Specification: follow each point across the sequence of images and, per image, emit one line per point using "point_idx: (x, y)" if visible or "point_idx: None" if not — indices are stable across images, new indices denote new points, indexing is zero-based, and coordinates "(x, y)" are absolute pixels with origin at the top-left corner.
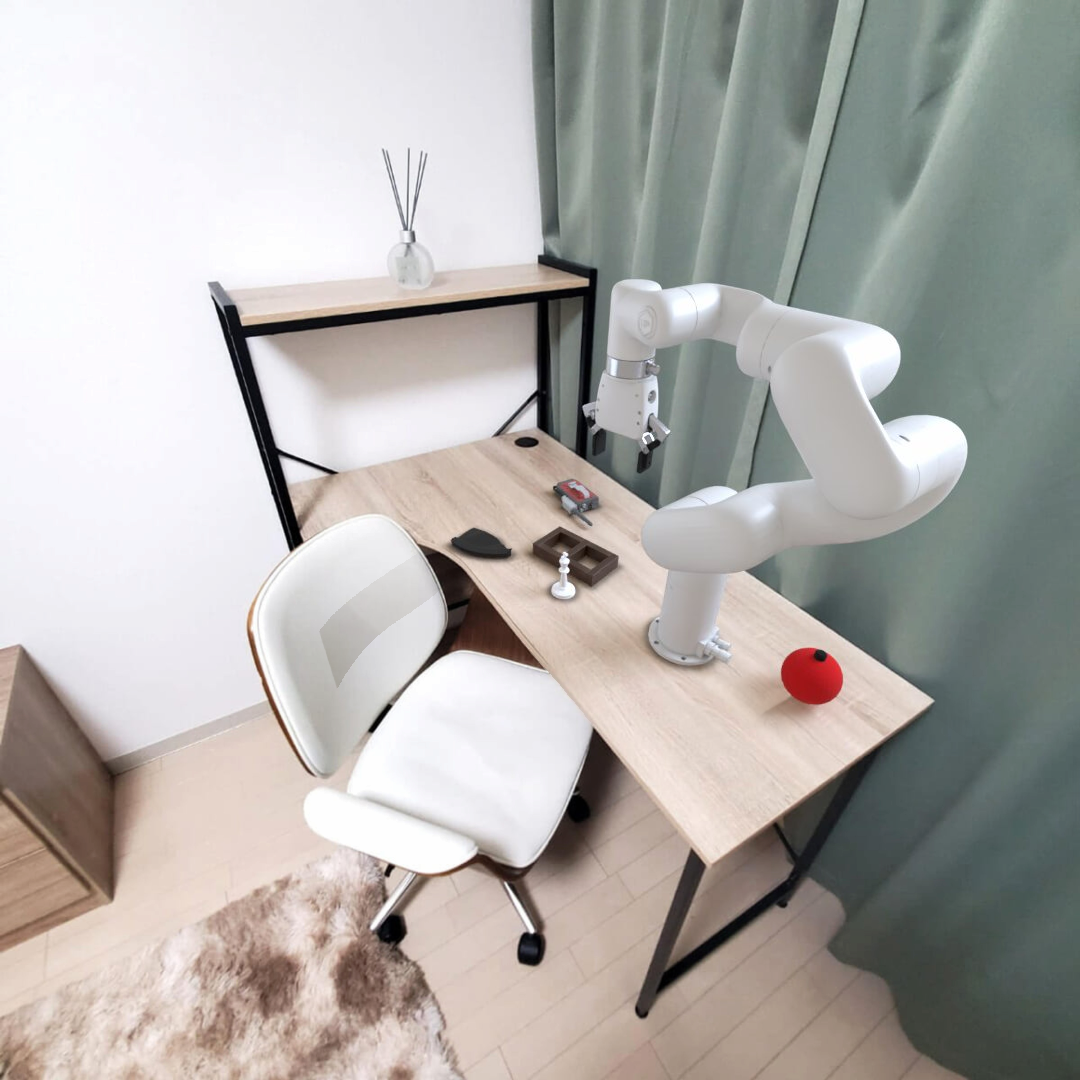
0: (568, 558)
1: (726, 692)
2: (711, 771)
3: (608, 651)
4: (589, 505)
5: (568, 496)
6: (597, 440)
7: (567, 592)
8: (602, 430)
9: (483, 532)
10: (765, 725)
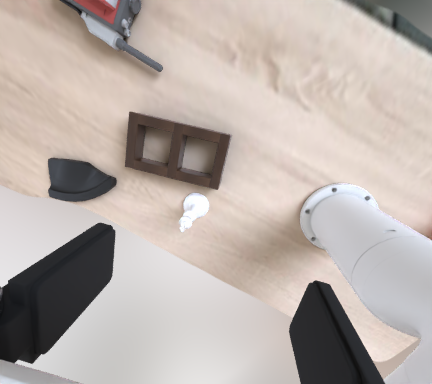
0: (177, 172)
1: None
2: (377, 322)
3: (270, 257)
4: (130, 12)
5: (89, 14)
6: (60, 332)
7: (202, 212)
8: (10, 333)
9: (64, 163)
10: None
